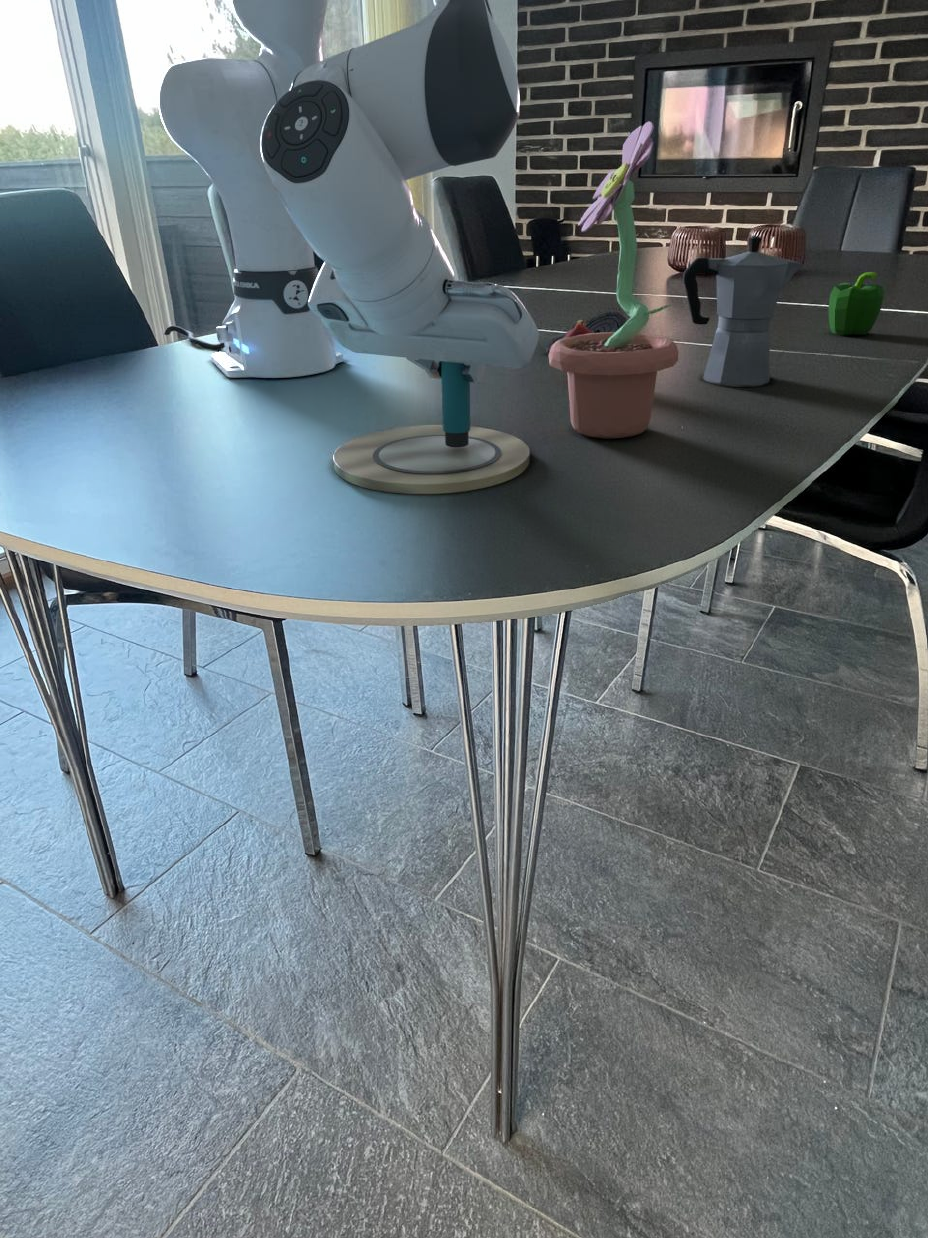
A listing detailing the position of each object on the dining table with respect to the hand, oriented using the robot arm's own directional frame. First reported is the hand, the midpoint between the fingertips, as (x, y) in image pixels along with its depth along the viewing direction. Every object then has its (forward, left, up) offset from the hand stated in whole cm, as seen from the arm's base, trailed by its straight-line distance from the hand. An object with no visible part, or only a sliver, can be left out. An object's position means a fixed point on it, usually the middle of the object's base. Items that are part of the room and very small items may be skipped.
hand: (458, 374), depth 83 cm
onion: (-18, +33, -9) cm, 38 cm away
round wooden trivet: (-1, -3, -8) cm, 9 cm away
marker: (0, -1, -7) cm, 7 cm away
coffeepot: (-5, +49, -9) cm, 50 cm away
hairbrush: (-38, +53, -9) cm, 66 cm away
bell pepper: (-14, +92, -9) cm, 93 cm away
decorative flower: (+2, +19, -9) cm, 21 cm away
